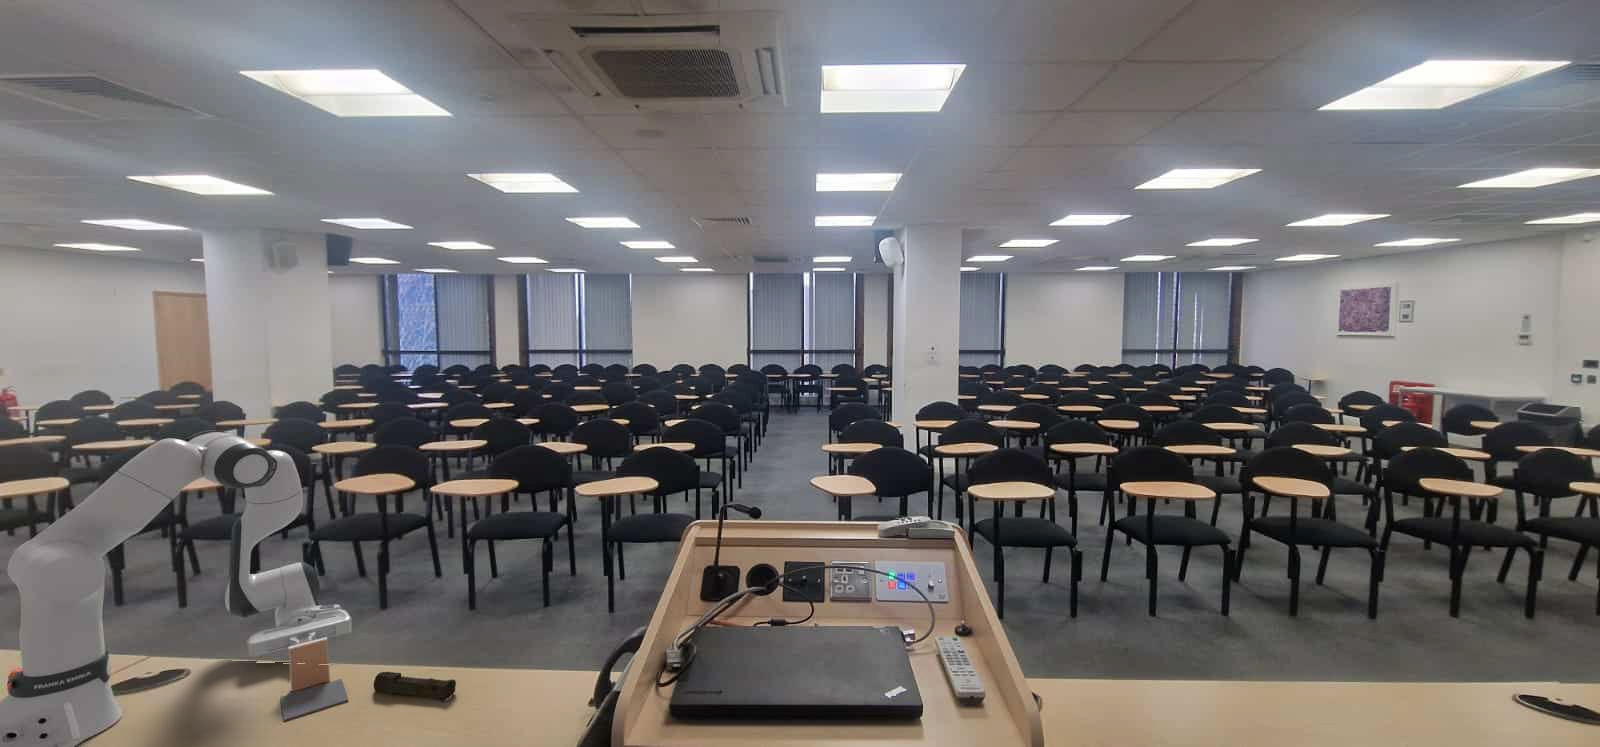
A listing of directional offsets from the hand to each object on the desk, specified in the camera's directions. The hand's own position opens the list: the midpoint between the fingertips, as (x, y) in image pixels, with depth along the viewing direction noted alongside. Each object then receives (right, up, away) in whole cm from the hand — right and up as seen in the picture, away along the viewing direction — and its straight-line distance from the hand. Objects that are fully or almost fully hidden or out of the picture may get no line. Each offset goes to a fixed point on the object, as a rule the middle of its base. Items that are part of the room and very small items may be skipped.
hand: (304, 645), depth 156 cm
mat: (+12, -6, -13) cm, 19 cm away
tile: (+7, -6, -7) cm, 12 cm away
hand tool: (+32, -7, -12) cm, 35 cm away
